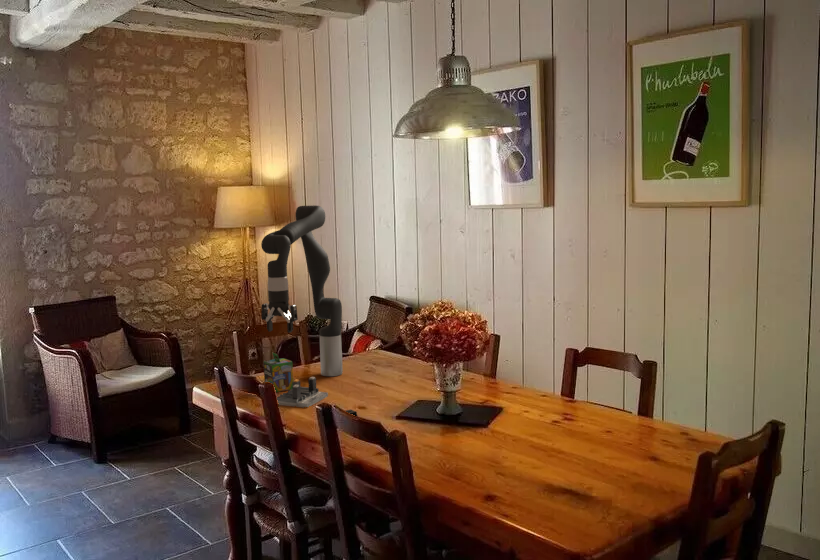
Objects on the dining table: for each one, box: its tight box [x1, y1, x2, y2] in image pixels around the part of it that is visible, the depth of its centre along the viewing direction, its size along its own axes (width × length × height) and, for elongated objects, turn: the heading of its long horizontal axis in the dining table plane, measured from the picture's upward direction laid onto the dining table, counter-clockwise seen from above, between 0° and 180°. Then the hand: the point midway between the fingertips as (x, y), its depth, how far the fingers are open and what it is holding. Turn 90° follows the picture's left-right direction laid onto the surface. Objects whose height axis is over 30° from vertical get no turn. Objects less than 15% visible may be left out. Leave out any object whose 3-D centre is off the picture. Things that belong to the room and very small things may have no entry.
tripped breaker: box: [292, 378, 301, 392], centre depth 282 cm, size 2×2×6 cm
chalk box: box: [262, 352, 295, 393], centre depth 298 cm, size 9×9×15 cm
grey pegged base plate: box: [277, 376, 329, 408], centre depth 282 cm, size 17×15×8 cm
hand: (280, 331), depth 277 cm, fingers open, 8 cm apart
